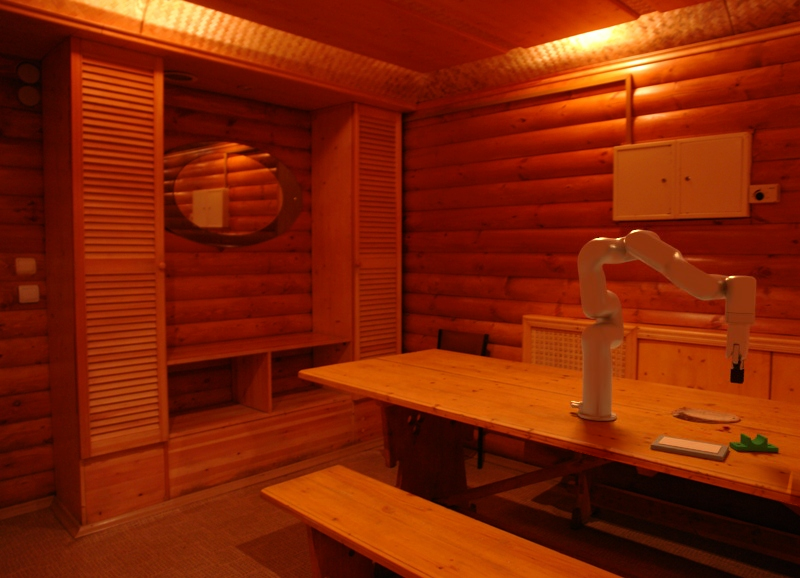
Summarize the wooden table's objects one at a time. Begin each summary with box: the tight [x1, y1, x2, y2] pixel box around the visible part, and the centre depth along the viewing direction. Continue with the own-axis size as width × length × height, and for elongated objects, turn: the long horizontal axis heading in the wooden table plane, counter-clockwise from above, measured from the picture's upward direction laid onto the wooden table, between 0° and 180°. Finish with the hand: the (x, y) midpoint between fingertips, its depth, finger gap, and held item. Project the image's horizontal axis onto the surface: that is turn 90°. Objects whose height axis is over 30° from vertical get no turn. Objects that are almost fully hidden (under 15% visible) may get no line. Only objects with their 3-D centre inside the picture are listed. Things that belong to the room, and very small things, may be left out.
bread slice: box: [670, 406, 742, 424], centre depth 202 cm, size 18×18×4 cm
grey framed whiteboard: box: [650, 434, 730, 462], centre depth 170 cm, size 18×12×1 cm, turn 55°
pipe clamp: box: [728, 433, 780, 453], centre depth 170 cm, size 11×4×5 cm
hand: (736, 382), depth 174 cm, fingers closed
